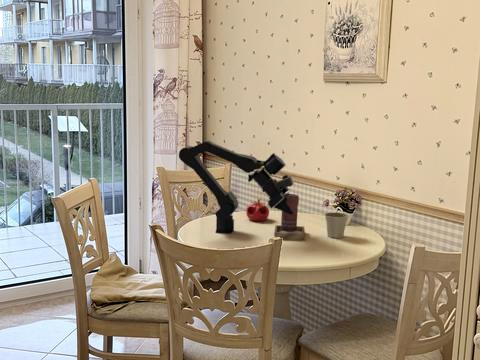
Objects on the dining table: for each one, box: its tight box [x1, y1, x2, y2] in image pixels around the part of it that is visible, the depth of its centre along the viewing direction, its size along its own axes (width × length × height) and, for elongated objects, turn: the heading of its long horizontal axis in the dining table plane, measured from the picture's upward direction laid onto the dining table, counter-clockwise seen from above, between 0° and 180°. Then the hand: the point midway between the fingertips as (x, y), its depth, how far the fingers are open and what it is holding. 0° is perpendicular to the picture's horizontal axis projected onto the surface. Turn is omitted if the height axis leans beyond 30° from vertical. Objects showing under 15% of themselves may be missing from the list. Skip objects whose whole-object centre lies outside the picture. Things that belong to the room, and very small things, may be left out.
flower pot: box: [323, 211, 349, 239], centre depth 221 cm, size 9×9×9 cm
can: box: [280, 193, 300, 232], centre depth 220 cm, size 6×6×14 cm
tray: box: [273, 224, 306, 241], centre depth 222 cm, size 12×12×2 cm
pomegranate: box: [245, 198, 270, 222], centre depth 246 cm, size 10×10×9 cm
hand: (293, 212), depth 220 cm, fingers closed on can, 5 cm apart
